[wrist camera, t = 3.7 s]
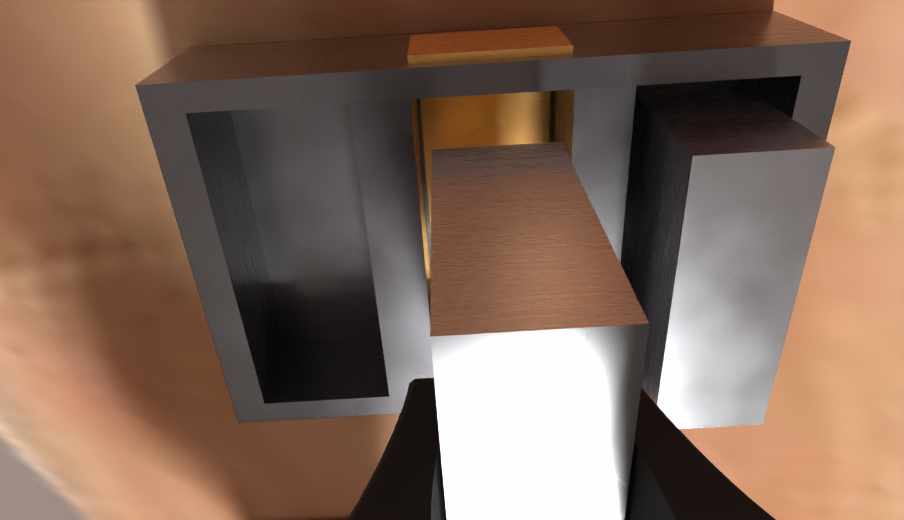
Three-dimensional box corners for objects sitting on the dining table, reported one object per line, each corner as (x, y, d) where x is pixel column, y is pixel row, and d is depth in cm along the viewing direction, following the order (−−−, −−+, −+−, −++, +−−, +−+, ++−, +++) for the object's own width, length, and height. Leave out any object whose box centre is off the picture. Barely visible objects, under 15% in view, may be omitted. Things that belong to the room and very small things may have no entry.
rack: (716, 319, 24) (805, 459, 18) (265, 345, 24) (213, 493, 19) (775, 3, 19) (932, 60, 13) (188, 40, 19) (75, 113, 13)
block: (553, 400, 19) (608, 645, 13) (450, 406, 19) (458, 653, 13) (561, 141, 15) (649, 323, 9) (431, 149, 15) (430, 337, 9)
